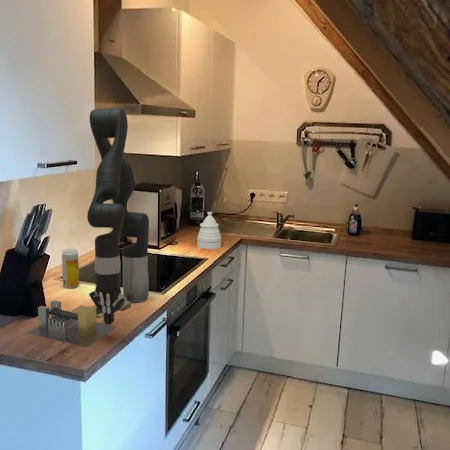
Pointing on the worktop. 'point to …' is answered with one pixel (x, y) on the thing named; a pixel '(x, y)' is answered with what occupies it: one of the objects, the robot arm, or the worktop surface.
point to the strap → (63, 313)
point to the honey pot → (209, 234)
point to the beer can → (70, 268)
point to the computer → (127, 304)
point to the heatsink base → (65, 327)
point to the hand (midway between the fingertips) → (109, 323)
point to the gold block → (86, 320)
